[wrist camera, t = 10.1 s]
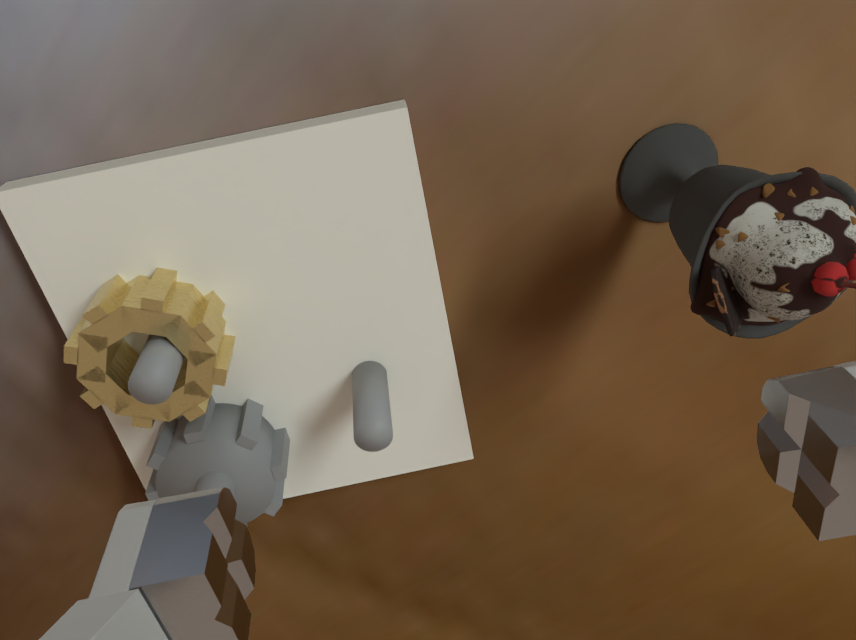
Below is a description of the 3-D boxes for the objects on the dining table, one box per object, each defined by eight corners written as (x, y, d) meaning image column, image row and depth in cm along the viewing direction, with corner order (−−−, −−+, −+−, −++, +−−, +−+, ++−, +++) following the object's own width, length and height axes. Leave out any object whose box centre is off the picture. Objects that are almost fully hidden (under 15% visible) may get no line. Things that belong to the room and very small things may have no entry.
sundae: (755, 112, 33) (1018, 235, 20) (706, 243, 37) (907, 420, 24) (625, 93, 32) (816, 208, 19) (586, 229, 35) (728, 407, 22)
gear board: (6, 181, 31) (-74, 244, 25) (404, 99, 31) (419, 142, 25) (168, 505, 41) (139, 605, 35) (469, 441, 41) (491, 531, 35)
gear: (52, 315, 33) (28, 349, 30) (170, 240, 32) (154, 269, 29) (154, 413, 36) (139, 451, 34) (263, 348, 35) (257, 382, 32)
